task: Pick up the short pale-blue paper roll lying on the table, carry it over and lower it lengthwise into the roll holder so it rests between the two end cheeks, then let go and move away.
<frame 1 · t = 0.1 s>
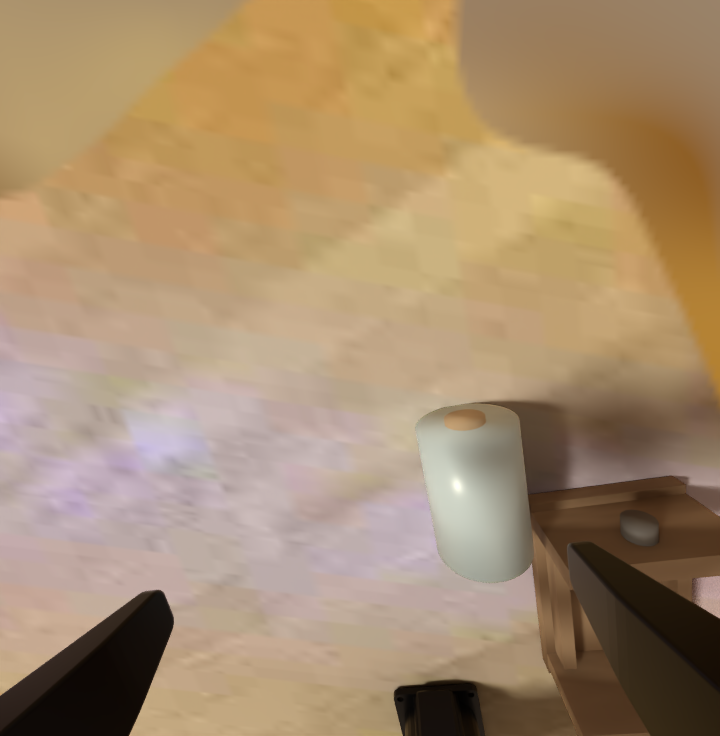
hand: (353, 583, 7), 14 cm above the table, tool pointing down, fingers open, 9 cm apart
holder: (601, 575, 23), on the table
roll: (464, 461, 22), on the table
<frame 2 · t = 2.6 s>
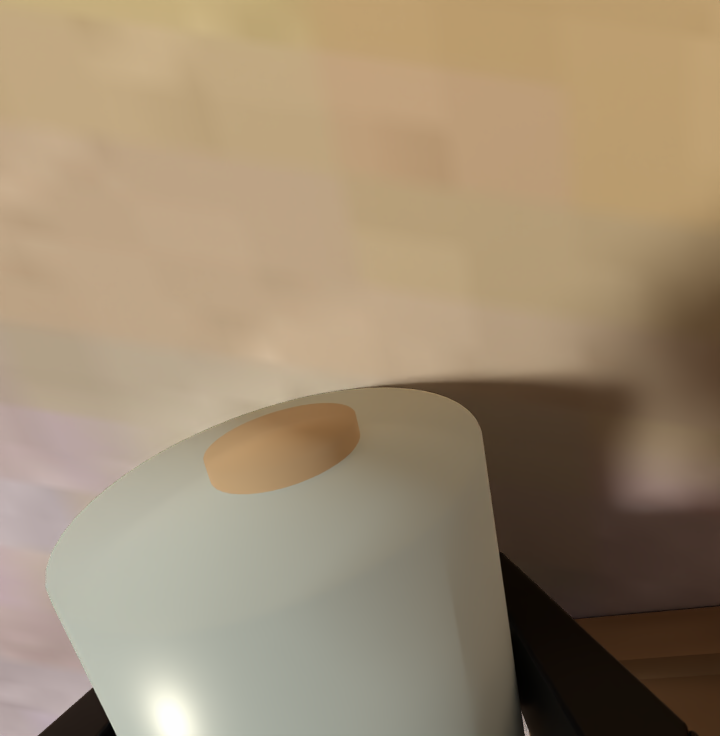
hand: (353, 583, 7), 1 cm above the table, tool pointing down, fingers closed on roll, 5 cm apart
roll: (359, 541, 8), on the table, touching gripper
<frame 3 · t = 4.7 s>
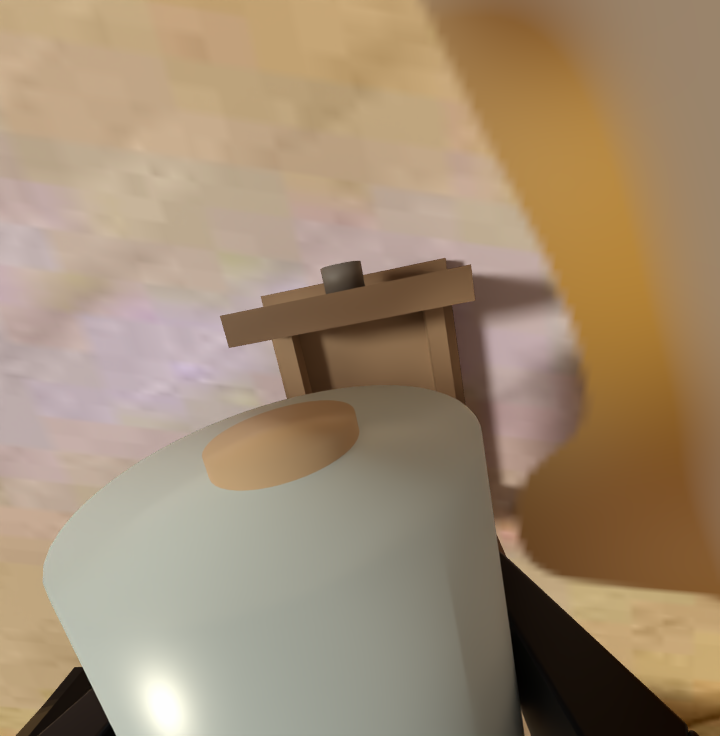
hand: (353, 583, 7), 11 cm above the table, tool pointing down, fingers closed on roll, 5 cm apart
holder: (377, 407, 18), on the table
roll: (358, 540, 8), point 10 cm above the table, touching gripper
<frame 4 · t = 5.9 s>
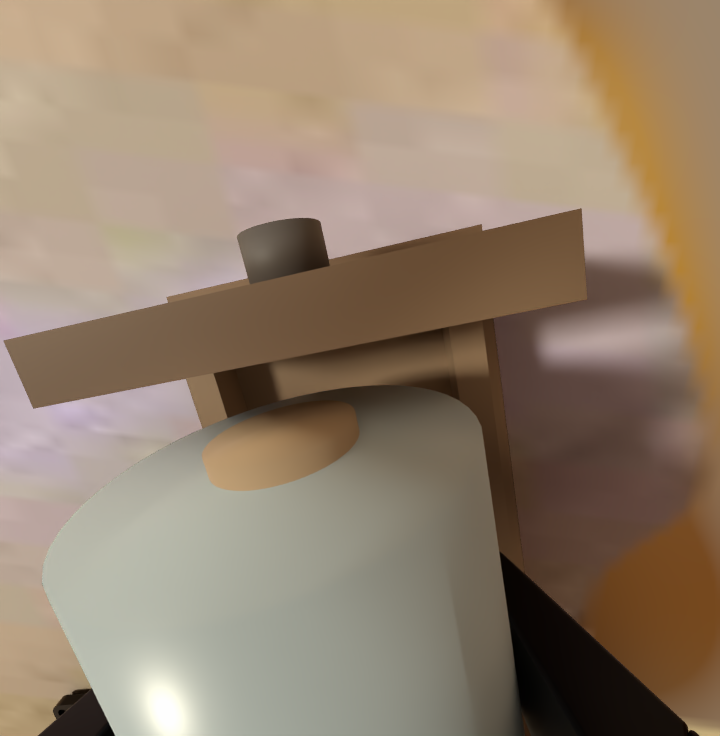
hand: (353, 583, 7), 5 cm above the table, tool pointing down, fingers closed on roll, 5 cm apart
holder: (367, 470, 12), on the table
roll: (358, 540, 8), point 3 cm above the table, touching gripper
when the fingers open (3 cm above the table, at t = 7.0 s): roll drops 1 cm, resting on holder.
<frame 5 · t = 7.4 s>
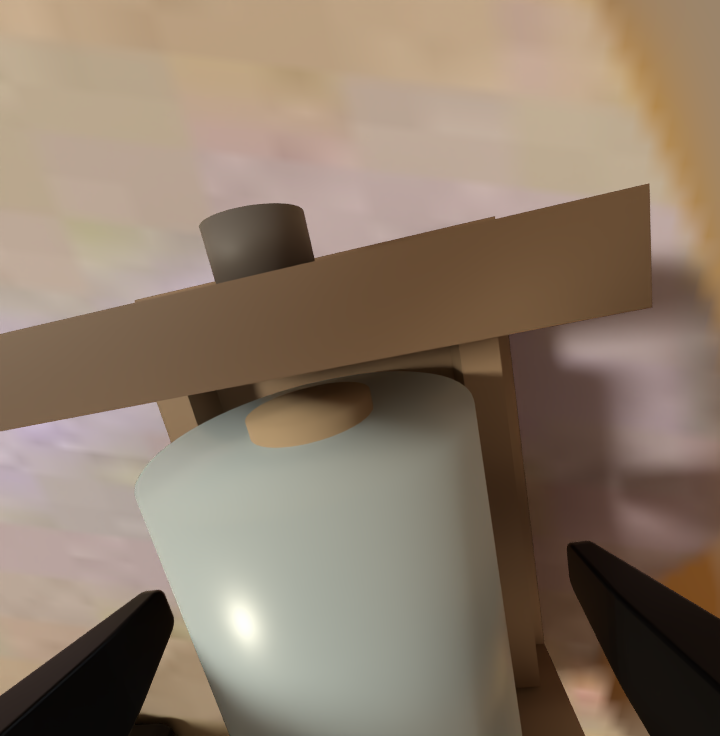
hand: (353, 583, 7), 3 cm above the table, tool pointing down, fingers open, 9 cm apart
holder: (364, 492, 10), on the table
roll: (360, 512, 9), point 1 cm above the table, touching holder
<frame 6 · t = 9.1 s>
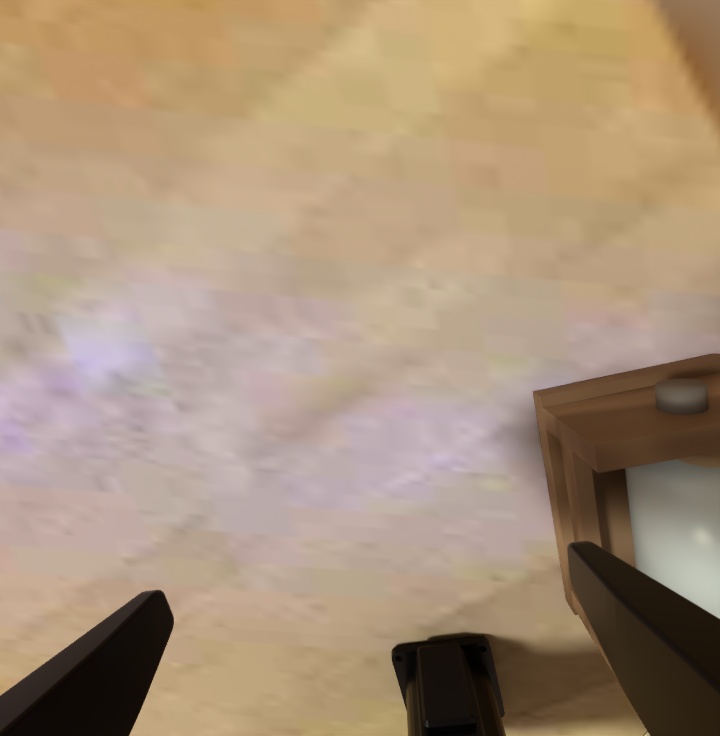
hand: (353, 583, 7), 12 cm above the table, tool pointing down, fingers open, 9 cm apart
holder: (632, 489, 19), on the table
roll: (646, 500, 18), point 1 cm above the table, tilted 16°, touching holder
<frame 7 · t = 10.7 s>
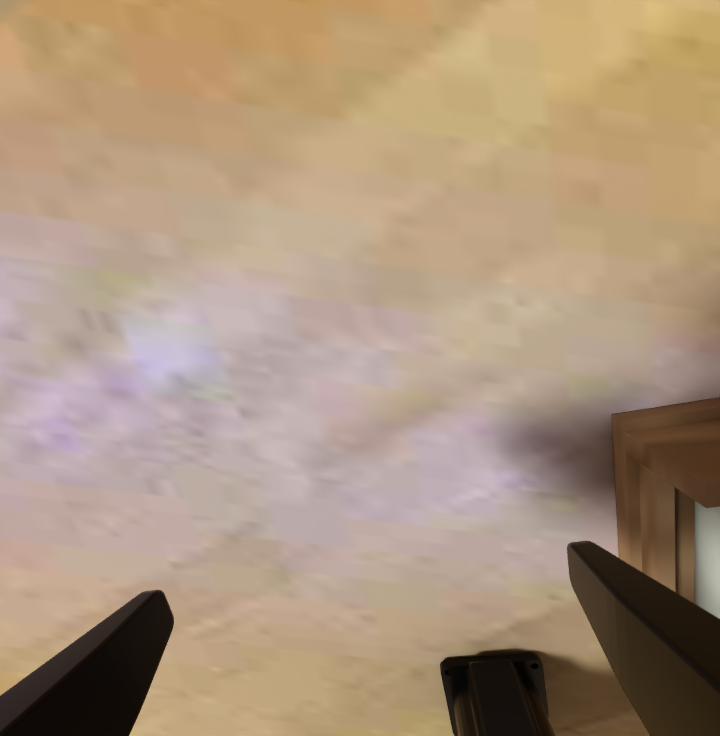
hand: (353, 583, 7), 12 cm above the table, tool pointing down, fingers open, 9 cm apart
holder: (702, 515, 19), on the table
roll: (718, 527, 18), point 1 cm above the table, touching holder
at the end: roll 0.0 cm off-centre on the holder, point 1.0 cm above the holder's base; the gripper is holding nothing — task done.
